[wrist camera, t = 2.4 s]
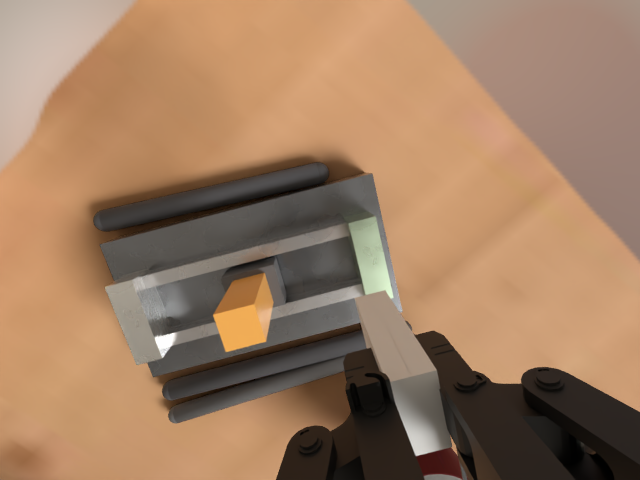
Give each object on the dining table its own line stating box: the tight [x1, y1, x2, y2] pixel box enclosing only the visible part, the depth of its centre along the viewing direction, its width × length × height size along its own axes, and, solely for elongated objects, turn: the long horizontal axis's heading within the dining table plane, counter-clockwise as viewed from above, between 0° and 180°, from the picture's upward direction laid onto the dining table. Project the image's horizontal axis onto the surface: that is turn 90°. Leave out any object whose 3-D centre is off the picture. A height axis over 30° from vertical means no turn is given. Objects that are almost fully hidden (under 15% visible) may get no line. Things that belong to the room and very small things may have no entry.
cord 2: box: [168, 334, 415, 423], centre depth 33 cm, size 25×2×2 cm, turn 107°
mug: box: [416, 447, 469, 480], centre depth 31 cm, size 10×8×10 cm
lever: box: [213, 257, 287, 352], centre depth 24 cm, size 4×3×8 cm
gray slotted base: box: [100, 173, 402, 377], centre depth 29 cm, size 22×12×6 cm, turn 104°
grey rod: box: [162, 321, 412, 400], centre depth 33 cm, size 24×2×2 cm, turn 104°
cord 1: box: [93, 162, 329, 231], centre depth 29 cm, size 20×2×2 cm, turn 102°
